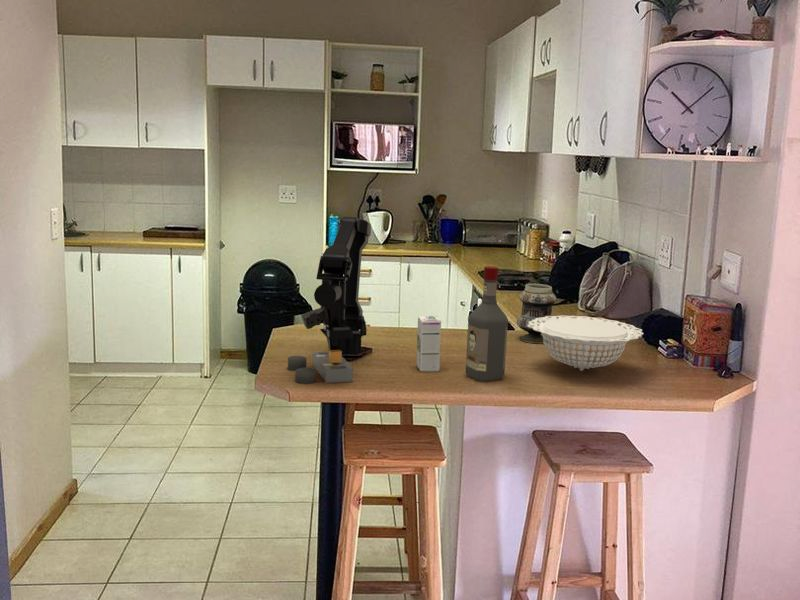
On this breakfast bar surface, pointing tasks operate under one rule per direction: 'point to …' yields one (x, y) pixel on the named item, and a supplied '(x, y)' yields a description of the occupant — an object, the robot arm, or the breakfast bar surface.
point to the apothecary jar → (535, 309)
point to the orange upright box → (335, 356)
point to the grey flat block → (332, 368)
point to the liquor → (487, 334)
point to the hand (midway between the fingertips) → (332, 356)
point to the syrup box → (428, 343)
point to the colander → (584, 338)
